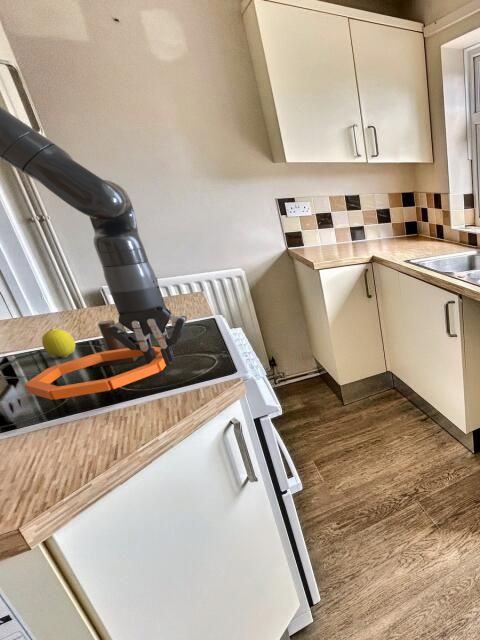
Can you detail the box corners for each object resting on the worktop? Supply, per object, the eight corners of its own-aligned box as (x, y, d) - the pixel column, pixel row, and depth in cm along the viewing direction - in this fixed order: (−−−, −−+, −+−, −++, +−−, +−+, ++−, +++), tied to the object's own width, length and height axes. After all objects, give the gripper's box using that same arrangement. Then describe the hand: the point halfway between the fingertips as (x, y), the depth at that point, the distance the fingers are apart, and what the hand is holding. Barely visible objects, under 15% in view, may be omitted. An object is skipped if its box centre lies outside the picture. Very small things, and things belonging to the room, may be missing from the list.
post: (93, 368, 101) (76, 329, 97) (107, 357, 107) (92, 319, 104) (134, 362, 103) (119, 324, 100) (146, 351, 110) (132, 315, 107)
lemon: (65, 362, 105) (52, 332, 102) (43, 362, 105) (29, 332, 102) (86, 353, 110) (74, 324, 107) (65, 354, 110) (52, 325, 107)
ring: (7, 407, 74) (2, 398, 74) (67, 364, 92) (64, 357, 92) (151, 383, 82) (148, 375, 81) (181, 347, 100) (178, 340, 99)
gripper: (80, 294, 78) (115, 377, 85) (169, 285, 83) (196, 364, 90) (98, 286, 85) (129, 364, 91) (180, 278, 90) (204, 352, 96)
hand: (162, 364), depth 90 cm, fingers closed on ring, 2 cm apart
